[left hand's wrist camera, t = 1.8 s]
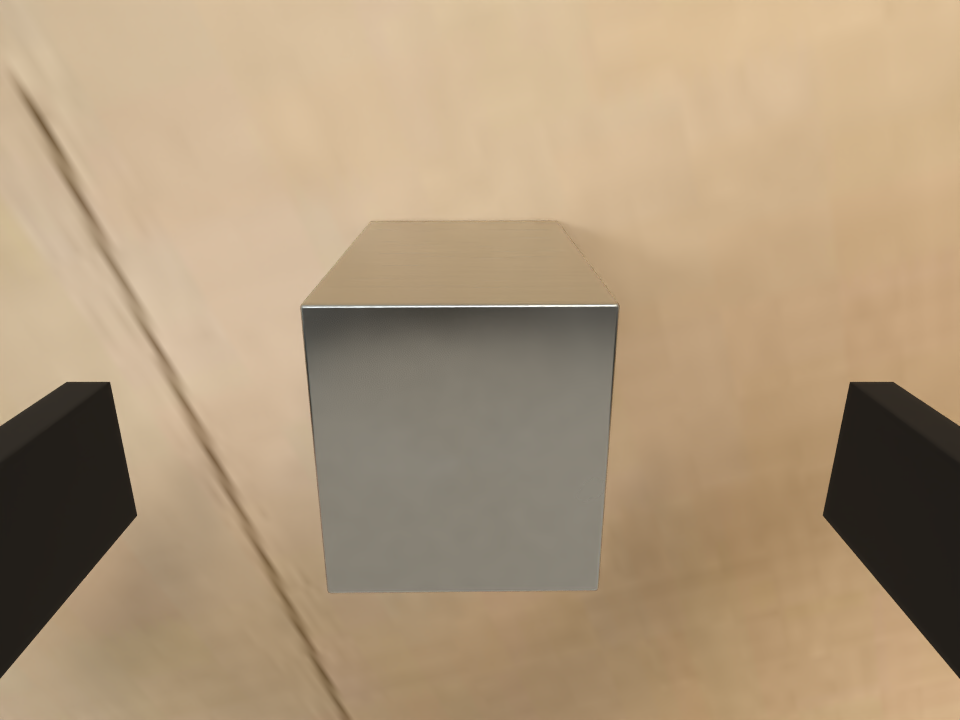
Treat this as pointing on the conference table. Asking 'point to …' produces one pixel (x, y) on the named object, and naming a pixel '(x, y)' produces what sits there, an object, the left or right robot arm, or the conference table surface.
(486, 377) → the brick
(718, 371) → the conference table surface
